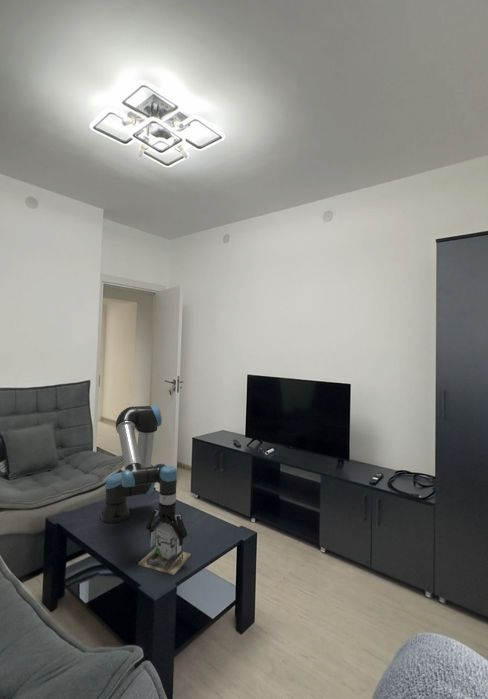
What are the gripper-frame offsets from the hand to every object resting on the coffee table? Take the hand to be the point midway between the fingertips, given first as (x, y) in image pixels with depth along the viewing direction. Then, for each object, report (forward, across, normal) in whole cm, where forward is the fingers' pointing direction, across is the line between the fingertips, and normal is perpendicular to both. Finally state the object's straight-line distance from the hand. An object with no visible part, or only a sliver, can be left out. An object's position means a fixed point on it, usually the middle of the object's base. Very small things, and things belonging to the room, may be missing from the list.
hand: (165, 548), depth 157 cm
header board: (+5, 0, 0) cm, 5 cm away
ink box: (+2, 0, 0) cm, 2 cm away
